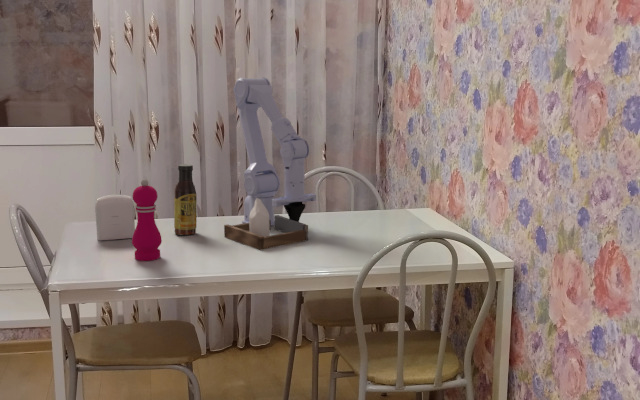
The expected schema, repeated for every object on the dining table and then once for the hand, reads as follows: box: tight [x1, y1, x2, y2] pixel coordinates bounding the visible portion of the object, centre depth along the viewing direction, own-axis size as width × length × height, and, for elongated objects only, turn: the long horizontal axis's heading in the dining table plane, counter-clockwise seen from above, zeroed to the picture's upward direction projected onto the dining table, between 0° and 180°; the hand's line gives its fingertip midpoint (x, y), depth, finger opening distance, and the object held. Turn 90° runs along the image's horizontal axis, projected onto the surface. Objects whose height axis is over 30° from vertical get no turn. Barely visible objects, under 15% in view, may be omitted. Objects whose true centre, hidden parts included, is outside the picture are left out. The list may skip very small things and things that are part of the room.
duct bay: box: [223, 220, 309, 251], centre depth 197 cm, size 17×17×4 cm
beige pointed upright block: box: [249, 198, 271, 237], centre depth 194 cm, size 6×12×6 cm
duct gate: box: [273, 214, 307, 233], centre depth 202 cm, size 15×1×4 cm, turn 36°
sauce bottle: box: [173, 163, 198, 236], centre depth 200 cm, size 6×6×20 cm
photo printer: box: [94, 194, 136, 242], centre depth 195 cm, size 10×4×12 cm, turn 108°
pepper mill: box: [131, 178, 163, 262], centre depth 175 cm, size 7×7×20 cm
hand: (294, 228), depth 203 cm, fingers closed
